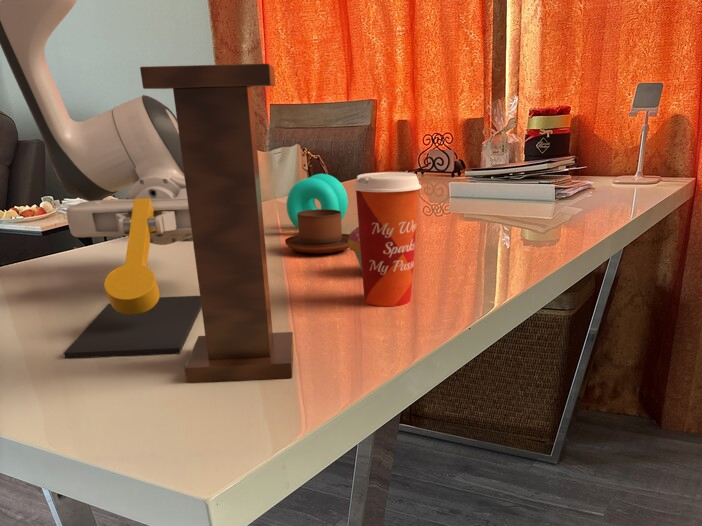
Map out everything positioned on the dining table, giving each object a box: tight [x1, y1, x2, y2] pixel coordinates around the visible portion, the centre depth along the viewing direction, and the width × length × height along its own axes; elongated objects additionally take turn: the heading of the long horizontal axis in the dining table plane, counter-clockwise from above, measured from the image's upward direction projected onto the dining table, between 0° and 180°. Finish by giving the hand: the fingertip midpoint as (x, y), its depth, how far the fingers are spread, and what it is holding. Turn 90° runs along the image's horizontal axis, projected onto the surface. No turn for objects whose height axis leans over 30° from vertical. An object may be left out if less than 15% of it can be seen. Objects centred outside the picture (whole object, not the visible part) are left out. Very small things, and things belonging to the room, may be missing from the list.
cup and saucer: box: [284, 208, 350, 254], centre depth 120 cm, size 12×12×6 cm
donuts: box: [286, 173, 349, 230], centre depth 136 cm, size 10×10×10 cm
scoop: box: [103, 198, 161, 315], centre depth 84 cm, size 18×6×2 cm, turn 4°
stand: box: [139, 63, 294, 384], centre depth 66 cm, size 10×10×26 cm
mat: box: [63, 295, 202, 359], centre depth 85 cm, size 12×22×1 cm, turn 4°
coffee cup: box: [352, 171, 422, 307], centre depth 89 cm, size 8×8×15 cm
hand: (140, 227), depth 86 cm, fingers closed on scoop, 2 cm apart
